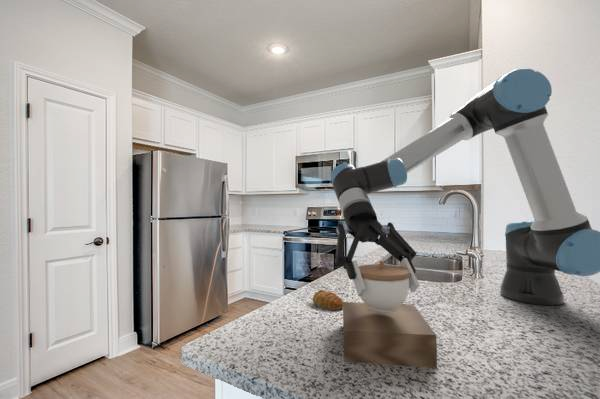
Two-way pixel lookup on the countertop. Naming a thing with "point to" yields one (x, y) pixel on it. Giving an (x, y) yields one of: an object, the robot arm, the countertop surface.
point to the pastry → (327, 300)
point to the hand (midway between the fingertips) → (389, 290)
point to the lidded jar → (384, 286)
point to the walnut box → (388, 336)
